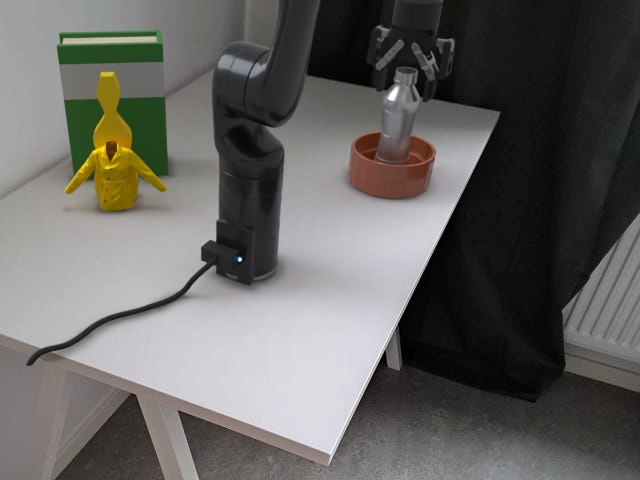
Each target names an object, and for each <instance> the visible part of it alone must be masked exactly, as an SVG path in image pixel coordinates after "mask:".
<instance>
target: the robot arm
mask: <svg viewBox="0 0 640 480" xmlns="http://www.w3.org/2000/svg"><path fill="white" fill-rule="evenodd" d="M322 1H323V0H276V2H277V3H276V4H277V5H276V16H275V17H276V18H275V24H274V29H273V35H272V39H271V43H270V46H269V47H268V46H264V45H260V44H256V43H254V42H250V41H244V40H237V41H233V42H231V43H229V44H227V45H226V46H225V47H224V48H223V49H222V51H221V52H220V54H219V55H218V57H217V59H216V62H215V66H214V69H213V74H212V80H211V106H212V107H211V108H212V125H213V128H212V129H213V143H214V147H215V150H216V152H217V155H218V218H217V220H216V221H215V240H212V239H209V240H207V241H206V242H205V243H204V244H203V245H202V246H201V247H200V262H203V263H205V264H204V265H203V266H202V267H200V268H199V270H197V271H196V272H195V273H194V274H193V275H192V276H191V277H190V278H189V279H188V280H187V282H186V283H185V285H184V286H183V287H182V288H181V289H179V290H178V291H177V292H175V293H174V294H172V295H171V296H170V295H169V296H168V297H166V298H163V299H161V300H158V301H155V302H152V303H148V304H145V305H143V306H139V307H136V308H131V309H128V310H124V311H119V312H116V313H113V314H108V315H107V316H104V317H102V318H100V319H98V320H96V321H94V322H92V323H91V324H90V325H88V326H87V327H86V328H85V329H83V330H82V331H81V332H80V333H78V334H77V335H75V336H74V337H72V338H70V339H69V340H67V341H65V342H61V343H56V344H53V345H52V344H51V345H48V346H43V347H42V348H39V349H37V350H36V351H35V352H34V353H33V354H32V355H31V356H30V357H29V358H28V360H27V361H26V363H25V366H26V367H30V366H33V365H34V364H35V362H36V361H37V360H38V359H39V358H40V357H42V356H45V355H46V354H49V353H54V352H57V351H58V352H59V351H62V350H65V349H69V348H71V347H72V346H75V345H76V344H78V343H80V342H81V341H82V340H83V339H86V337H87V336H89V335H90V334H91V333H92V332H94V331H95V330H96V329H98V328H100V327H102V326H103V325H105V324H107V323H110V322H112V321H113V322H114V321H115V320H119V319H123V318H127V317H131V316H135V315H139V314H142V313H146V312H148V311H152V310H154V309H157V308H160V307H161V308H162V307H164V306H166V305H169V304H171V303H173V302H175V301H177V300H178V299H180V298H181V297H183V296H184V295H185V294H187V293H188V292H189V290H190V289H191V287H192V286H193V285H194V284H195V283H196V282H197V281H198V280H199V279H200V278H201V277H202V276H203V275H204V274H205V273H206V272H208V271H209V270H210V269H211V268H213V266H214V267H215V274H216V275H218V276H221V277H223V278H226V279H228V280H232V281H234V282H237V283H240V284H243V285H246V286H248V287H249V286H252V285H253V284H254V283H260V282H264V281H266V280H268V279H270V278H272V277H273V276H274V275H275V274H276V273H277V271H278V267H279V260H278V257H279V242H280V240H279V239H280V227H281V226H280V225H281V214H282V200H283V199H282V198H283V197H282V196H283V186H284V184H283V183H284V170H285V159H286V157H285V153H286V152H285V147H284V144H283V143H282V142H281V140H280V139H279V138H278V137H277V136H276V135H274V134H273V132H271V131H270V130H269V128H272V129H278V128H280V127H283V126H284V125H286V124H287V123H288V122H289V121H290V120H291V118H292V116H293V115H294V113H295V111H296V110H297V108H298V106H299V103H300V100H301V97H302V94H303V90H304V86H305V82H306V77H307V73H308V69H309V63H310V59H311V53H312V48H313V43H314V37H315V32H316V29H317V23H318V18H319V14H320V10H321V5H322ZM443 5H444V0H395V1H394V5H393V6H394V7H393V13H392V20H391V27H390V28H385V26H384V25H383V24H379V25H377V26H376V27H374V28H373V29H372V30H371V33H370V39H369V45H368V50H367V54H366V55H367V56H366V60H365V61H366V64H367V65H372V67H374V68H375V75H374V82H373V88H375V91H376V92H378V93H381V92H383V91H384V90H385V87H386V81H387V76H388V75H387V73H388V67H387V66H388V64H390V63H391V61H393V59H395V58H397V60H398V61H401V62H402V61H408V62H410V63H413V64H417V63H419V66H420V68H421V69H422V70H423V71H424V74H425V75H426V78H427V79H426V80H425V84H424V89H423V94H422V100H421V101H422V103H428V102H429V101H431V99H433V98H434V97H435V95H436V89H437V85H438V80H440V81H441V80H443V81H444V80H445V79H446V78H447V77H448V76H450V75H451V73H452V67H453V60H454V54H455V48H456V39H455V38H454V37H450V38H449V39H445V38H440V37H439V35H438V30H439V25H440V20H441V15H442V10H443ZM386 38H387V40H388V42H389V45H390V47H391V48H390V49H389V50H388V51H387V52H386V53H385V54H384V55H383V57H380V52H381V47H382V42H384V41H385V40H386ZM436 47H437V48H438V52H439V54H441V58H440V64H439V68H438V65H437V62H436V57H435V55H434V53H433V50H434V49H435V48H436Z"/></svg>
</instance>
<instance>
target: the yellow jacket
mask: <svg viewBox="0 0 640 480" xmlns="http://www.w3.org/2000/svg"><path fill="white" fill-rule="evenodd" d="M120 92H121V89H120V85H119V82H118V80H117V77H116V75H115V73H114V72H101V75H100V79H99V83H98V87H97V97H98V100H99V102H100V104H101V106H102V108H103V110H104V113H105V114H104V116H103V117H102V119H101V120H100V122H99V123H98V125H97V127H96V128H95V132H94V136H93V141H94V145H95V150H94V151H92V153H91V155H90V156H89V158H88V159H87V161H86V162H85V164H84V165H83V166H82V167H81V168H80V170H79V171H78V172H77V174H76V175H75V176H74V175H73V178H72V179H71V181H70V182H69V183H68V185H67V186H66V188H65V189H64V193H65V194H67V195H72V194H73V193H74V192H75V191H76V190H77V189H79V187H80V186H82V185H83V184H84V183H85V181H86V180H87V178H88V177H89V176H90V175H91V174H92V172H93V171H94V170H95V169H96V171H95V177H94V178H93V182H94V183H93V184H94V189H95V194H96V196H97V198H98V200H99V208H100V209H101V210H102V211H104V212H118V211H119V212H121V211H122V210H127V209H131V208H133V207H135V206H136V203H135V201H136V200H137V197H138V194H139V187H140V186H139V185H140V184H139V183H140V180H139V177H138V174H139V175H140V177H141V178H142V179H143V180H145V181H146V182H147V183H148V184H150V185H151V186H152V187H153V188H154V189H156V190H158V191H159V192H161V193H164V192H166V191H167V190H168V187H166V185H165V184H164V182H162V181H161V179H160V178H159V176H156V175H155V174H154V173H153V172H152V171H151V170H150V168H149V167H148V166H147V165H146V164H145V163H144V162H143V161H142V160H141V159H140V158H139V157H138V156H137V155H136V154H135V153H134V152H133V151H132V150H131V143H132V132H131V129H130V127H129V126H128V125H127V124H126V122H125V121H124V120H123V119H122V118H121V116H120V115H119V114H118V112H117V106H118V103H119V98H120Z"/></svg>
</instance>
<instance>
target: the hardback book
mask: <svg viewBox="0 0 640 480" xmlns="http://www.w3.org/2000/svg"><path fill="white" fill-rule="evenodd" d="M58 37H59V38H58V39H59V43H58V44H56V52H57V59H58V67H59V75H60V81H61V82H60V83H61V88H62V89H61V90H62V97H63V105H64V110H65V111H64V112H65V118H66V126H67V133H68V134H67V135H68V141H69V148H70V156H71V163H72V170H73V177H74V176H75V175H76V174H77V172H78V171H79V170H80V168H81V167H82V166H83V165H84V164H85V162H86V161H87V159H88V158H89V156H90V155H91V153H92V151H94V150H95V145H94V141H93V136H94V132H95V128H96V127H97V125H98V123H99V122H100V120H101V119H102V117H103V116H104V114H105V113H104V110H103V108H102V106H101V104H100V102H99V100H98V97H97V87H98V83H99V79H100V75H101V72H114V73H115V75H116V77H117V80H118V82H119V85H120V89H121V92H120V98H119V103H118V106H117V112H118V114H119V115H120V116H121V118H122V119H123V120H124V121H125V122H126V124H127V125H128V126H129V127H130V129H131V132H132V143H131V150H132V151H133V152H134V153H135V154H136V155H137V156H138V157H139V158H140V159H141V160H142V161H143V162H144V163H145V164H146V165H147V166H148V167H149V168H150V170H151V171H152V172H153V173H154V174H155V175H156V176H157V177H161V176H164V177H165V176H169V157H168V153H169V152H168V134H167V133H168V132H167V131H168V130H167V110H166V109H167V108H166V89H165V88H166V87H165V84H166V83H165V63H164V43H163V36H162V30H161V29H155V30H154V29H153V30H152V29H151V30H150V29H149V30H110V31H109V30H108V31H66V32H65V31H64V32H63V31H62V32H58ZM95 171H96V169H95V170H94V171H93V172H92V174H91V175H90V176H89V177H88V178H87V179H88V180H89V179H94V177H95ZM138 177H141V176H140V175H139V174H138ZM87 179H86V180H87Z"/></svg>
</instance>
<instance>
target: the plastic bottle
mask: <svg viewBox="0 0 640 480" xmlns="http://www.w3.org/2000/svg"><path fill="white" fill-rule="evenodd" d="M418 75H419V71H418V70H417V68H415V67H414V68H413V67H409V66H400V67H397V68H396V69H395V73H394V76H393V82H394V84H392V85H391V86H390V87H389V88H388V89H387V91H386V92H385V93H384V95H383V97H382V99H381V126H380V129H381V130H380V131H381V136H380V140H379V144H378V149H377V152H376V155H375V157H374V161H376V162H380V163H384V164H391V165H409V149H410V138H411V134H412V133H413V131H414V125H415V121H416V118H417V117H418V113H419V110H420V106H421V96H420V94H419V92H418V90H417V88H416V86H415V85H416V84H417V82H418Z"/></svg>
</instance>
